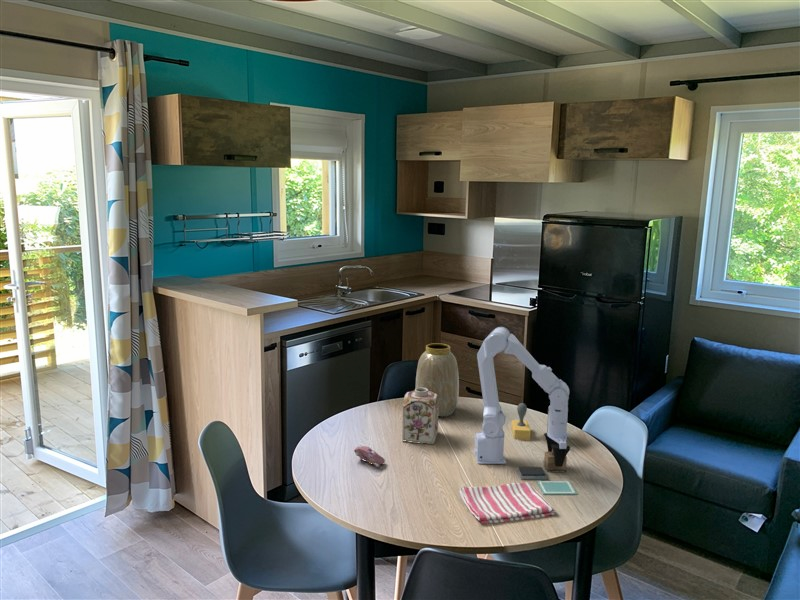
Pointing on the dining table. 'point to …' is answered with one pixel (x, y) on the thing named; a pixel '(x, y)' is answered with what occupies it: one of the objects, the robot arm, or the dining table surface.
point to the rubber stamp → (521, 424)
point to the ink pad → (531, 473)
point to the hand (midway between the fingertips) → (555, 460)
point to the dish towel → (505, 503)
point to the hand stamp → (553, 463)
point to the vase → (439, 376)
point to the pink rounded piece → (369, 455)
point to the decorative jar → (420, 416)
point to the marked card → (556, 488)
